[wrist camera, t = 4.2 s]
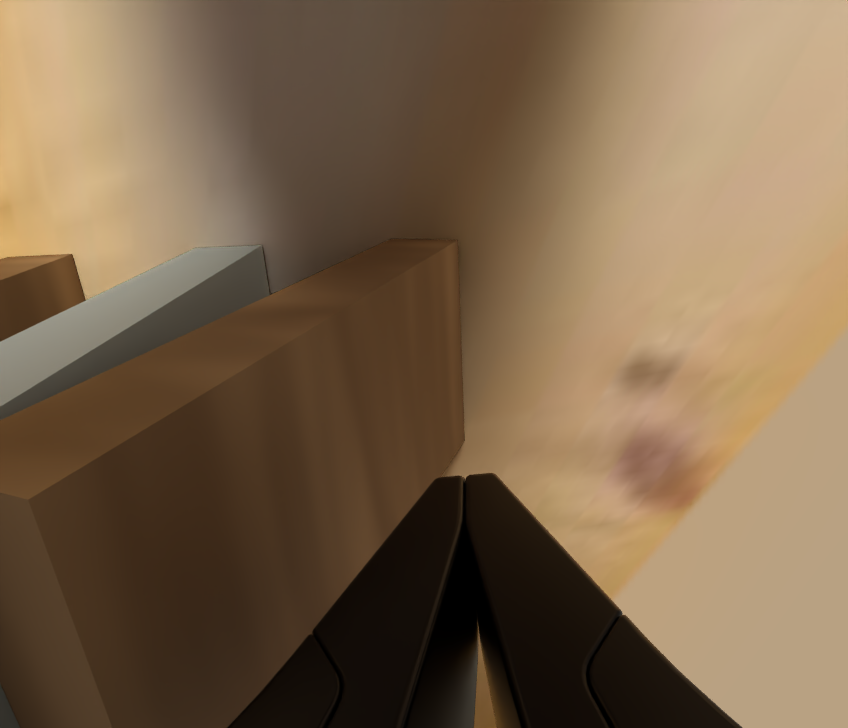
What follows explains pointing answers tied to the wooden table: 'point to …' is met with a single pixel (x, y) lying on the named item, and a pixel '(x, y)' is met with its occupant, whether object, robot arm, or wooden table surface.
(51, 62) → the wooden table surface
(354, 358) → the domino
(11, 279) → the domino
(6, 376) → the domino
